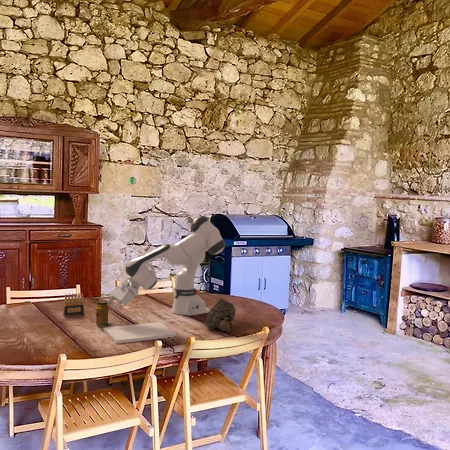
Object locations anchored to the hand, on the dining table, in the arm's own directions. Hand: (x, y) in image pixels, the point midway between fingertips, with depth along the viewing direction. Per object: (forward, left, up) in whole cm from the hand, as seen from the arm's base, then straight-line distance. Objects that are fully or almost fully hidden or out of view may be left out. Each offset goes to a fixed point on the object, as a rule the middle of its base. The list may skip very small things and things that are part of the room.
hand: (110, 306), depth 252 cm
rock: (-51, +28, -10) cm, 59 cm away
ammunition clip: (+13, -26, -10) cm, 30 cm away
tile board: (-9, +21, -9) cm, 25 cm away
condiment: (+3, -1, -10) cm, 10 cm away
